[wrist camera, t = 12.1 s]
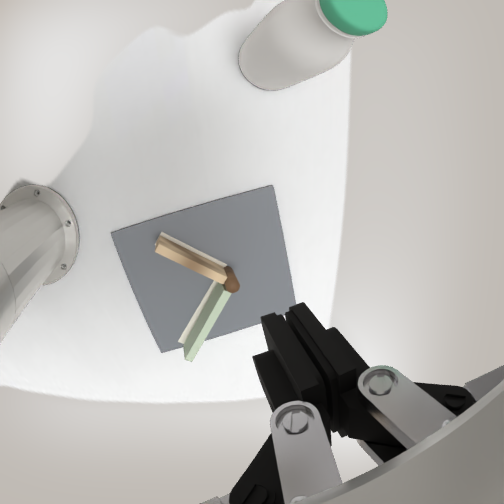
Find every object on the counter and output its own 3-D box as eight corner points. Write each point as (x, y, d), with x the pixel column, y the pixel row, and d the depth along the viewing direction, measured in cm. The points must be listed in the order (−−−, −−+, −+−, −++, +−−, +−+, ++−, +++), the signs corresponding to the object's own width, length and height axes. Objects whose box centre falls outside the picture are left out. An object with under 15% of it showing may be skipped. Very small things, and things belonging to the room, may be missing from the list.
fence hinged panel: (220, 278, 39) (224, 290, 36) (227, 281, 39) (231, 293, 36) (183, 345, 41) (184, 359, 38) (189, 347, 41) (191, 361, 38)
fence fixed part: (155, 243, 36) (153, 256, 32) (161, 231, 36) (159, 243, 32) (228, 278, 40) (235, 295, 36) (234, 268, 40) (242, 283, 36)
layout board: (161, 351, 41) (161, 353, 41) (111, 232, 34) (110, 233, 34) (296, 310, 44) (297, 311, 44) (272, 185, 37) (273, 185, 37)
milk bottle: (285, 102, 34) (391, 75, 16) (226, 74, 32) (286, 9, 13) (308, 51, 32) (416, 0, 14) (252, 23, 30) (327, -62, 12)
